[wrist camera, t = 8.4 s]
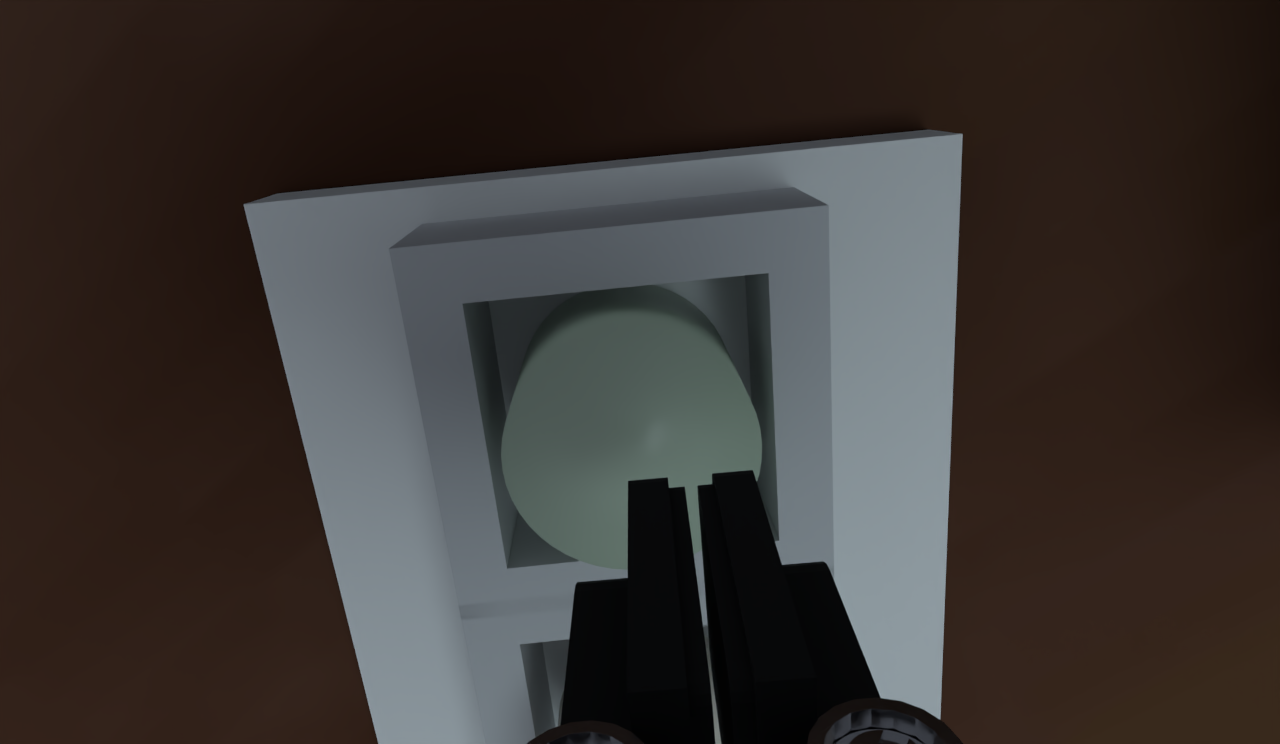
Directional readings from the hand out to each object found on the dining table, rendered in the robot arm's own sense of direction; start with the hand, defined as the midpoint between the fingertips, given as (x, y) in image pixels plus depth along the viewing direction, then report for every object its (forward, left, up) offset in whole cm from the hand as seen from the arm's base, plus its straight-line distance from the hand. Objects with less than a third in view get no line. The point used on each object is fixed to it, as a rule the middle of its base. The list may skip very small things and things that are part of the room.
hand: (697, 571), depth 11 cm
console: (+8, -1, -11) cm, 14 cm away
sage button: (0, -1, -9) cm, 9 cm away
